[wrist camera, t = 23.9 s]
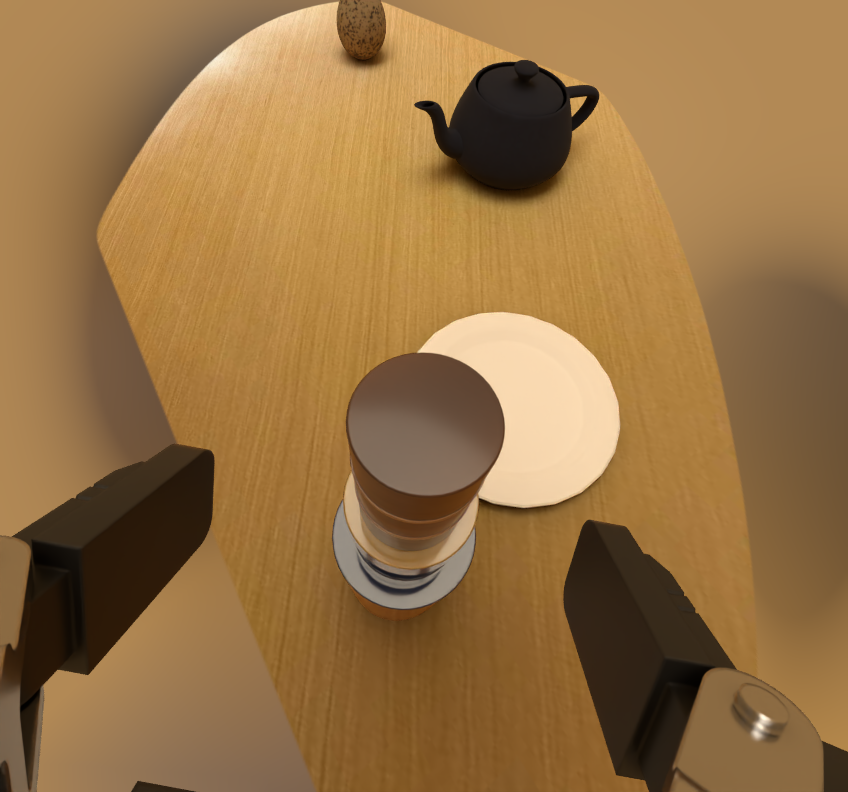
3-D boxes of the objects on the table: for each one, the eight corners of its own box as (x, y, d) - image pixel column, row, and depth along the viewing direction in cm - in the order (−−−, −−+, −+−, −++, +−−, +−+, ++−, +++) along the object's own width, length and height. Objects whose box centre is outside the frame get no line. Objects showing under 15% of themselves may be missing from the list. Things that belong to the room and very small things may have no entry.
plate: (606, 539, 41) (614, 535, 39) (376, 476, 42) (376, 470, 40) (619, 347, 51) (626, 338, 49) (432, 300, 52) (433, 289, 50)
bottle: (349, 626, 36) (315, 609, 18) (347, 521, 40) (316, 417, 21) (452, 615, 37) (520, 588, 19) (440, 514, 41) (488, 407, 22)
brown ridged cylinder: (336, 490, 20) (310, 406, 13) (417, 429, 21) (434, 324, 14) (403, 577, 18) (416, 536, 11) (485, 505, 20) (540, 430, 13)
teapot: (550, 116, 69) (581, 18, 58) (605, 185, 63) (651, 90, 52) (389, 143, 63) (391, 41, 53) (432, 222, 57) (444, 124, 46)
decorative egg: (330, 60, 72) (322, -22, 63) (353, 39, 75) (350, -42, 66) (371, 75, 71) (370, -6, 62) (393, 53, 74) (395, -27, 65)
